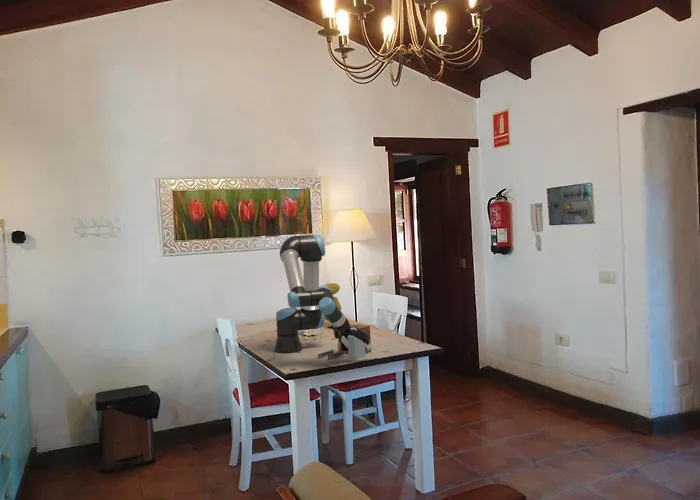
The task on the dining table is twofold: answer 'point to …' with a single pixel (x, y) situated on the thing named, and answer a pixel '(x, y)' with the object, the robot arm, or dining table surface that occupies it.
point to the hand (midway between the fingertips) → (358, 346)
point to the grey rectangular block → (355, 348)
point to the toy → (334, 290)
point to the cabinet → (342, 347)
